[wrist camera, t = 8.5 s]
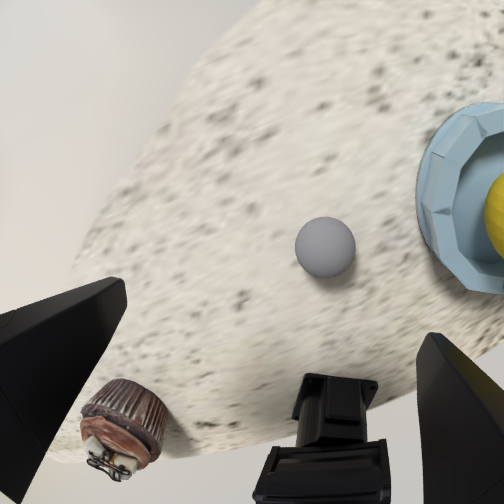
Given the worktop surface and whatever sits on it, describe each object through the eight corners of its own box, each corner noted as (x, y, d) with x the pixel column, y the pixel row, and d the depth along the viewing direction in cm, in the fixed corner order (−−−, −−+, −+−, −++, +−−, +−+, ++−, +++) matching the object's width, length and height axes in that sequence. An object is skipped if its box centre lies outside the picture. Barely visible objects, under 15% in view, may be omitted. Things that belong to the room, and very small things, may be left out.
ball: (346, 264, 20) (350, 293, 17) (293, 256, 21) (288, 283, 18) (357, 214, 19) (364, 235, 16) (301, 204, 19) (297, 224, 16)
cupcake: (101, 358, 30) (51, 426, 21) (183, 400, 30) (147, 479, 21) (101, 402, 35) (64, 459, 26) (169, 436, 34) (140, 501, 25)
